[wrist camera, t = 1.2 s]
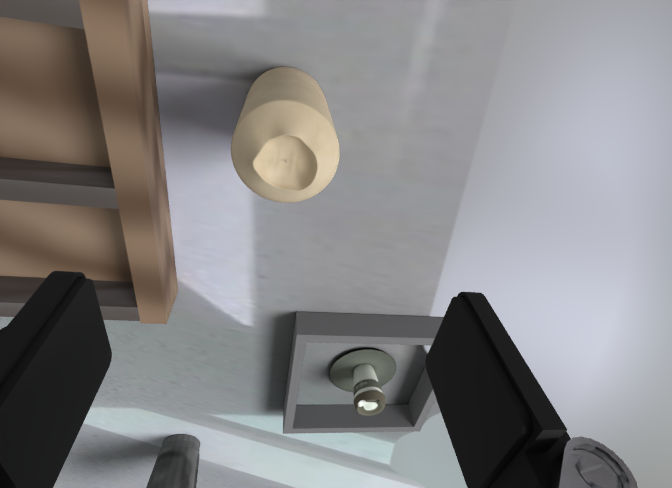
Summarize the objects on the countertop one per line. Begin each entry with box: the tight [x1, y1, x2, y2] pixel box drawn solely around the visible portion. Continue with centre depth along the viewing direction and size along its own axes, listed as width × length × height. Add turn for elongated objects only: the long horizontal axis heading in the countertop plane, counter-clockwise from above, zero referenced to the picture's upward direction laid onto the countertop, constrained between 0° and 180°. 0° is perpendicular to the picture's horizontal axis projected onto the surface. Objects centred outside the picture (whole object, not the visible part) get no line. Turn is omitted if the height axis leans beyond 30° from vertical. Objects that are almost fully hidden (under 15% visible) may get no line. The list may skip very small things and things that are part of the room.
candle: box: [231, 67, 339, 203], centre depth 22 cm, size 6×6×10 cm
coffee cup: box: [330, 349, 396, 416], centre depth 42 cm, size 12×12×5 cm
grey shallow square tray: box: [283, 312, 444, 433], centre depth 43 cm, size 17×17×3 cm
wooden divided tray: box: [0, 0, 178, 324], centre depth 25 cm, size 23×15×4 cm, turn 171°
